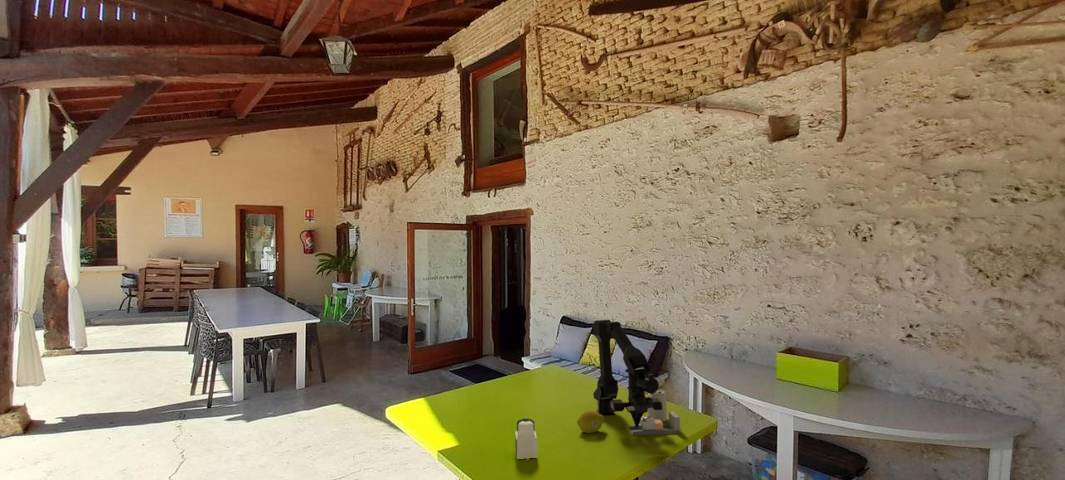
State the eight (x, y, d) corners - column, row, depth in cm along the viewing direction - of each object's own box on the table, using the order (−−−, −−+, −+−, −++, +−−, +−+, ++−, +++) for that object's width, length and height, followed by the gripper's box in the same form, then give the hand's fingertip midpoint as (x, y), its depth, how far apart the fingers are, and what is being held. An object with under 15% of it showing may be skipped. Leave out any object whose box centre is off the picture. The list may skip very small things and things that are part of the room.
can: (667, 424, 189) (667, 394, 190) (648, 423, 191) (647, 393, 191) (666, 417, 197) (665, 388, 197) (647, 416, 198) (647, 387, 198)
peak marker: (655, 432, 181) (655, 423, 181) (652, 428, 185) (651, 419, 185) (663, 432, 181) (663, 423, 181) (659, 428, 185) (659, 419, 185)
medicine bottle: (515, 451, 168) (514, 417, 168) (535, 450, 168) (535, 416, 168) (516, 460, 161) (515, 424, 161) (537, 459, 161) (536, 423, 161)
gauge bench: (633, 436, 179) (633, 419, 179) (628, 429, 185) (628, 413, 185) (679, 433, 180) (679, 417, 180) (673, 427, 186) (673, 411, 186)
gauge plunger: (642, 433, 180) (642, 419, 180) (639, 428, 184) (639, 415, 184) (655, 432, 180) (655, 419, 180) (651, 428, 185) (651, 414, 185)
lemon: (578, 436, 179) (577, 415, 179) (575, 428, 187) (575, 408, 187) (606, 435, 180) (606, 414, 180) (603, 427, 187) (602, 407, 187)
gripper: (617, 393, 173) (617, 436, 173) (667, 392, 175) (667, 434, 175) (610, 384, 185) (610, 425, 185) (657, 383, 186) (657, 423, 186)
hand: (636, 427), depth 182 cm, fingers closed
